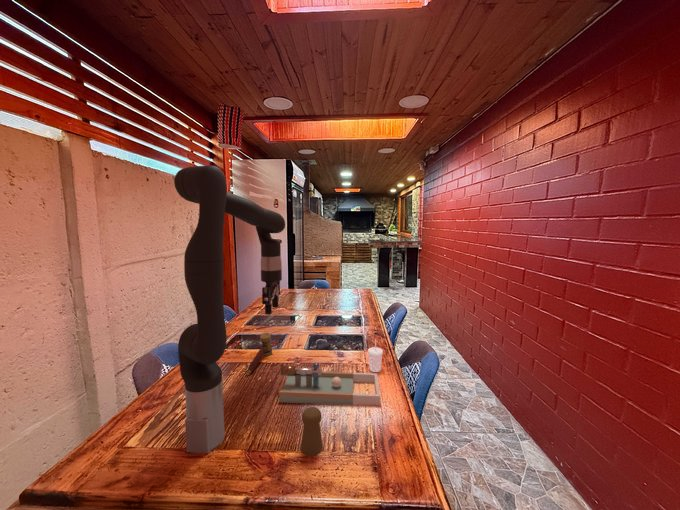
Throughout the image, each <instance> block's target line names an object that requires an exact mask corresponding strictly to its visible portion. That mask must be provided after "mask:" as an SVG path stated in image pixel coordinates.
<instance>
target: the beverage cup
mask: <svg viewBox="0 0 680 510" xmlns="http://www.w3.org/2000/svg"><path fill="white" fill-rule="evenodd" d="M367 351H368V352H367V353H368V359H369V360H368V366H369V368H368V369H369V370H370V371H371V372H372V373H373V372H374V373H379V372H380V371H381V370H382V359H383V353H384V350H383V349H382V348H381V347H378V346H377V338H375V339H374V347H373V346H372V347H370V348H368V349H367Z"/></svg>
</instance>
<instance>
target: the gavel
mask: <svg viewBox="0 0 680 510" xmlns="http://www.w3.org/2000/svg"><path fill="white" fill-rule="evenodd" d="M259 339H260V342H261V348H260V349H259V350H258V352H257V353H256V354H255V356H254V358H253V360H252V361H251V363H250V364H249V366H248V367H247V371H246V376H249V375H251V374H252V372H254V371H255V369H256V368H257V366H258V364H259V363H260V361H261V360H262V358H263V357H270V356H271V355H272V354H273V348H272V344H271V339H272V336H271V333H270V332H263V333H261V334H260V335H259Z"/></svg>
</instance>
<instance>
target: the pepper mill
mask: <svg viewBox="0 0 680 510" xmlns="http://www.w3.org/2000/svg"><path fill="white" fill-rule="evenodd" d="M301 420H302V423H303V430H302V435H301V436H302V437H301V443H300V445H301V446H300V450H301V453H302V454H304V455H305V456H308V457H314V456H317V455H319V454H320V453H321V452H322V450H323V446H324V445H323V439H322V430H321V421H322V412H321V410H320V409H319V408H318V407H315V406H309V407H306V408H305V409H304V410H303V412H302V415H301Z"/></svg>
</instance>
